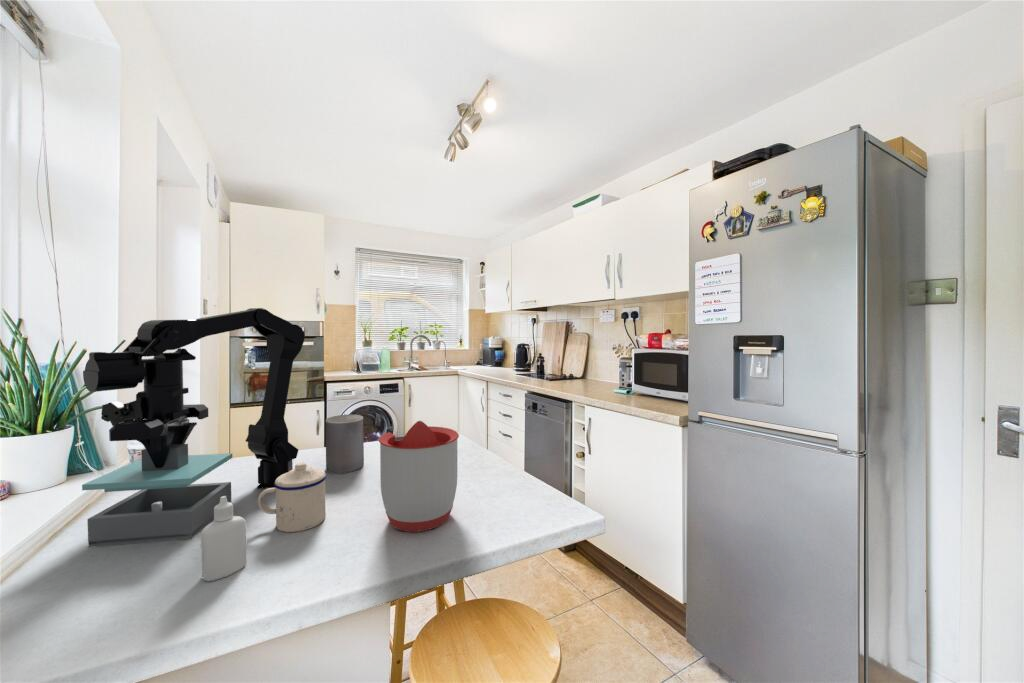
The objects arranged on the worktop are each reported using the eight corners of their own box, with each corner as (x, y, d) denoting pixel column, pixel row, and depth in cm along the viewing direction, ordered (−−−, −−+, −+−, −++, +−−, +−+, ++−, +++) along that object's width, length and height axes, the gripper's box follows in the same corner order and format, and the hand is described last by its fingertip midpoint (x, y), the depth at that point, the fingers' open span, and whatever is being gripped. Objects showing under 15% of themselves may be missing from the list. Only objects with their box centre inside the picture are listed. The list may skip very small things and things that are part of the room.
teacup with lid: (330, 508, 84) (329, 454, 83) (322, 529, 75) (321, 469, 75) (266, 516, 80) (265, 459, 80) (250, 539, 72) (249, 476, 71)
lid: (232, 463, 86) (232, 434, 85) (191, 490, 71) (190, 456, 71) (144, 468, 82) (143, 438, 82) (82, 497, 68) (81, 461, 68)
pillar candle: (330, 462, 112) (329, 410, 112) (366, 459, 115) (365, 409, 114) (322, 475, 103) (321, 418, 102) (361, 472, 105) (361, 416, 105)
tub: (231, 504, 86) (231, 482, 85) (192, 538, 72) (191, 511, 72) (146, 510, 83) (145, 487, 82) (88, 547, 69) (87, 519, 69)
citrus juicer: (427, 493, 92) (427, 408, 91) (474, 519, 80) (474, 420, 79) (361, 515, 81) (361, 418, 80) (404, 549, 69) (404, 435, 68)
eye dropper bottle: (207, 568, 63) (205, 494, 62) (248, 560, 65) (247, 488, 65) (198, 584, 59) (196, 505, 59) (243, 575, 61) (241, 499, 61)
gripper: (150, 379, 84) (152, 452, 84) (70, 393, 66) (73, 486, 66) (209, 378, 86) (210, 449, 86) (147, 392, 68) (149, 481, 68)
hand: (165, 464), depth 77 cm, fingers closed on lid, 3 cm apart
